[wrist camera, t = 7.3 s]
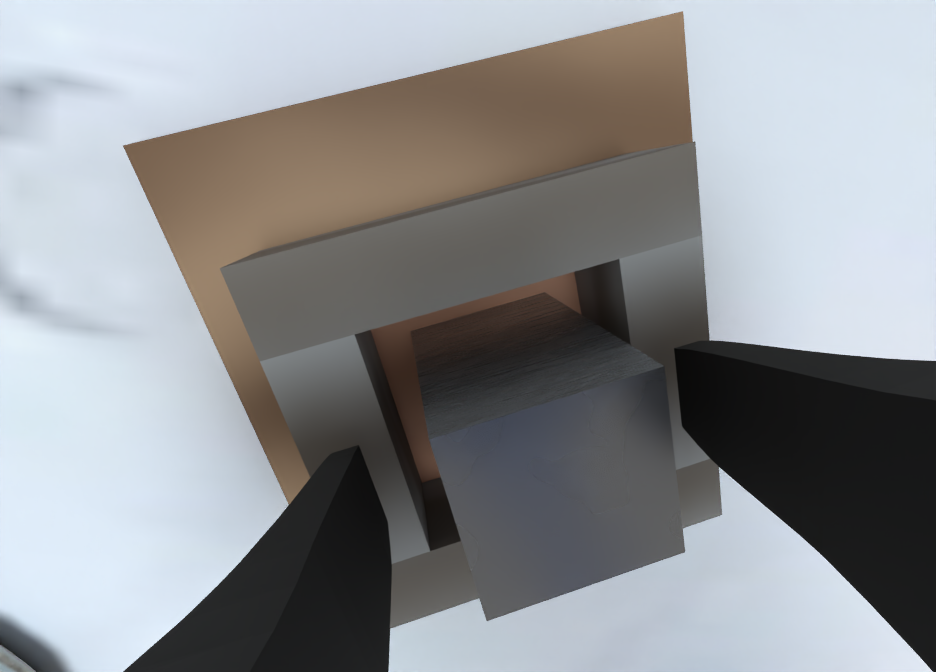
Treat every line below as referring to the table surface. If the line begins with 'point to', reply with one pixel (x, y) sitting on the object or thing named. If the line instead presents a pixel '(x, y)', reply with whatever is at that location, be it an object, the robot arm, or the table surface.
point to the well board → (396, 164)
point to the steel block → (548, 449)
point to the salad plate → (12, 662)
